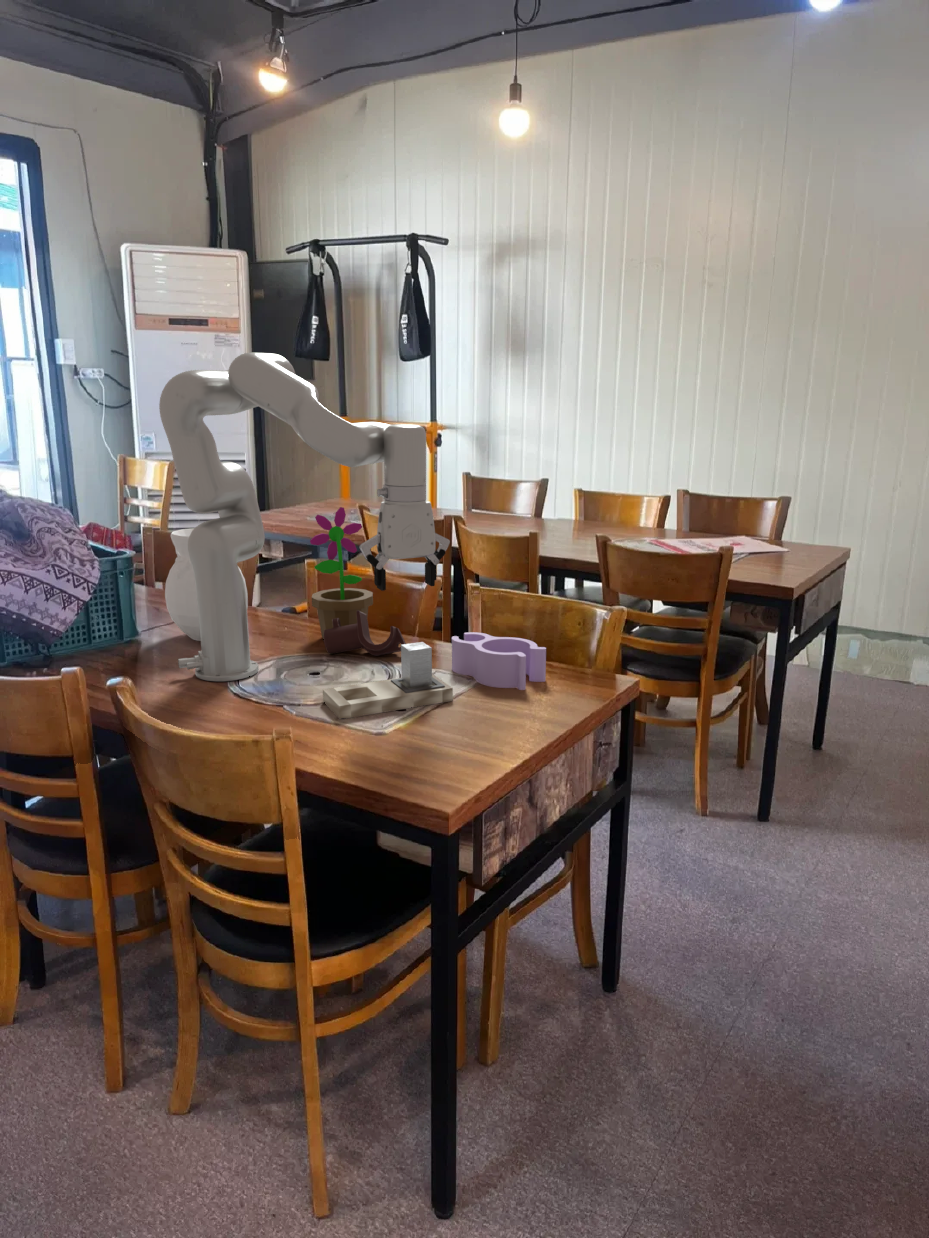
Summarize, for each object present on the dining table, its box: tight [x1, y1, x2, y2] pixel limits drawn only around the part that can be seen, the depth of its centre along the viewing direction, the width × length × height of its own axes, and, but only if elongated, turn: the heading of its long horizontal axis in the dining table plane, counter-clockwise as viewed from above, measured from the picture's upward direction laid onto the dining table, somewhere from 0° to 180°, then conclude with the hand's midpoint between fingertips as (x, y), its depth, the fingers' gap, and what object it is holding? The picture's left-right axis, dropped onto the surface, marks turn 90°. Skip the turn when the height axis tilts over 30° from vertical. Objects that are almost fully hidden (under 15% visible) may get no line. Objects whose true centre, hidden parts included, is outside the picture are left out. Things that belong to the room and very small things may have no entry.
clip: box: [451, 631, 547, 691], centre depth 185 cm, size 20×12×7 cm, turn 49°
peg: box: [400, 641, 433, 689], centre depth 172 cm, size 4×4×10 cm
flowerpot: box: [309, 506, 374, 639], centre depth 210 cm, size 14×14×30 cm
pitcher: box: [164, 527, 249, 642], centre depth 212 cm, size 19×18×25 cm
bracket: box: [323, 611, 407, 657], centre depth 200 cm, size 6×17×10 cm, turn 86°
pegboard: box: [322, 673, 454, 720], centre depth 170 cm, size 22×10×3 cm, turn 115°
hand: (405, 586), depth 169 cm, fingers open, 9 cm apart
